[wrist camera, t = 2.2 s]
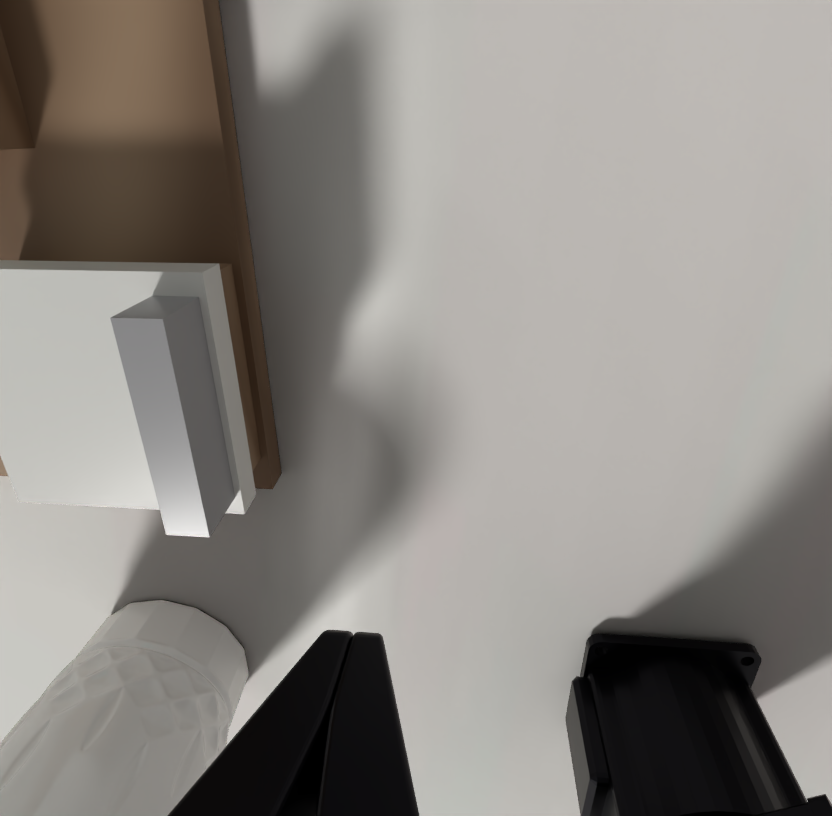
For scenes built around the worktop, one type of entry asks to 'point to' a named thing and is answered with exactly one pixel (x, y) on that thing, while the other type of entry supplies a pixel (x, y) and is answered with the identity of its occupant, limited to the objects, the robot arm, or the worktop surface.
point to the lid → (122, 390)
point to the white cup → (127, 718)
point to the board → (131, 158)
